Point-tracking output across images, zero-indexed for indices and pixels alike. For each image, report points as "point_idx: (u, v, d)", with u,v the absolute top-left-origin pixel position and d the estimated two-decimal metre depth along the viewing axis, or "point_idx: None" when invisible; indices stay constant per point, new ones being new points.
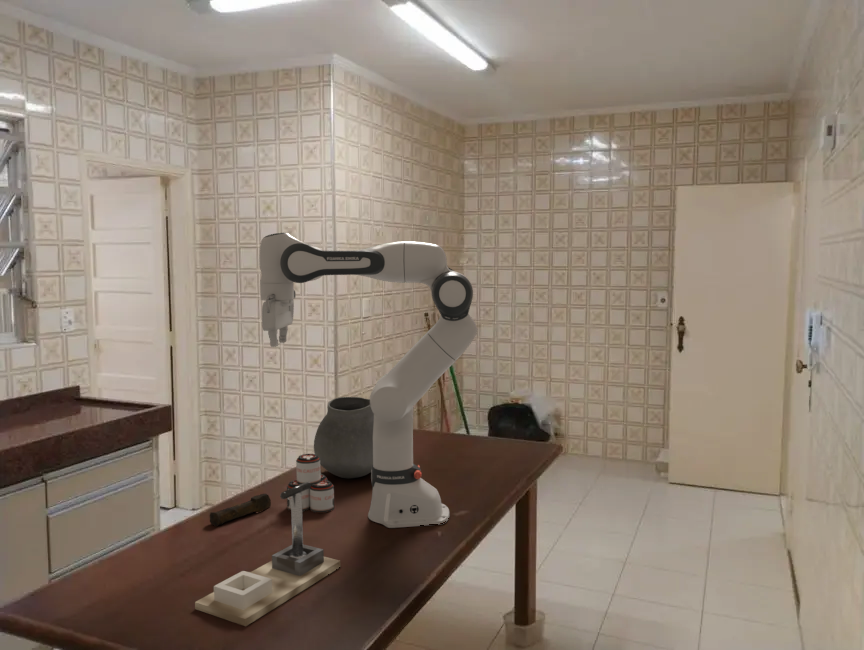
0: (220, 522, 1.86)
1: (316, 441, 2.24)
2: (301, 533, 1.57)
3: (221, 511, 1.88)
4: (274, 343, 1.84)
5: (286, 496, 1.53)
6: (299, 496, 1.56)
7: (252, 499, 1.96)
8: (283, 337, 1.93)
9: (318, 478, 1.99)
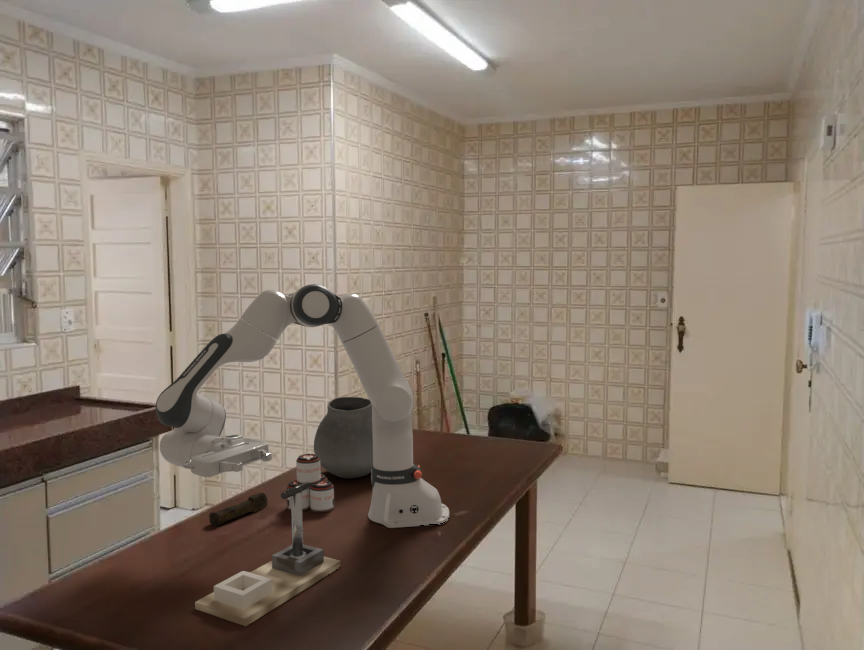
0: (220, 522, 1.87)
1: (316, 441, 2.24)
2: (301, 533, 1.57)
3: (221, 511, 1.88)
4: (235, 466, 1.58)
5: (286, 496, 1.53)
6: (299, 496, 1.56)
7: (250, 498, 1.97)
8: (263, 455, 1.67)
9: (318, 478, 1.99)
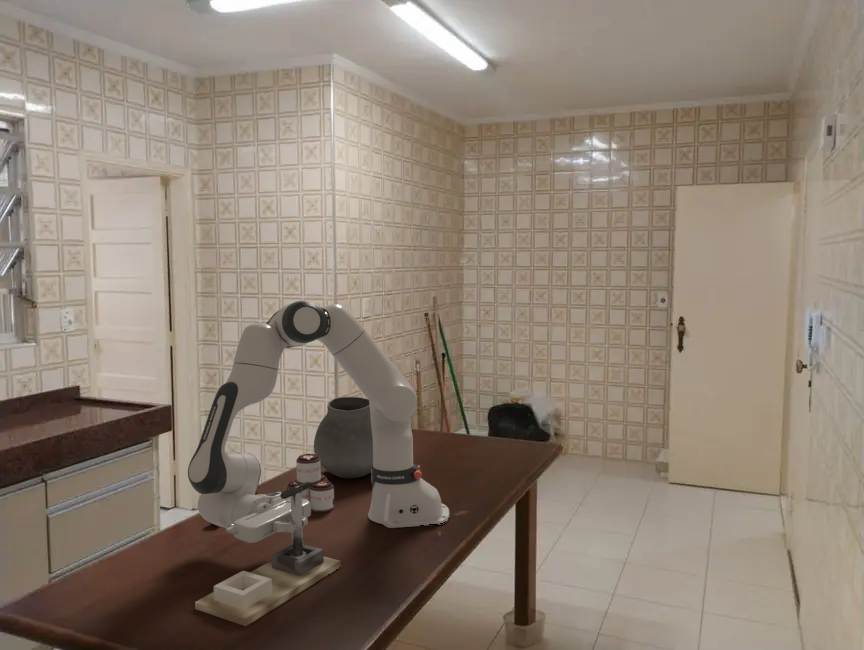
0: None
1: (316, 441, 2.24)
2: (301, 533, 1.57)
3: None
4: (289, 527, 1.55)
5: (286, 496, 1.53)
6: (299, 496, 1.56)
7: None
8: None
9: (318, 478, 1.99)
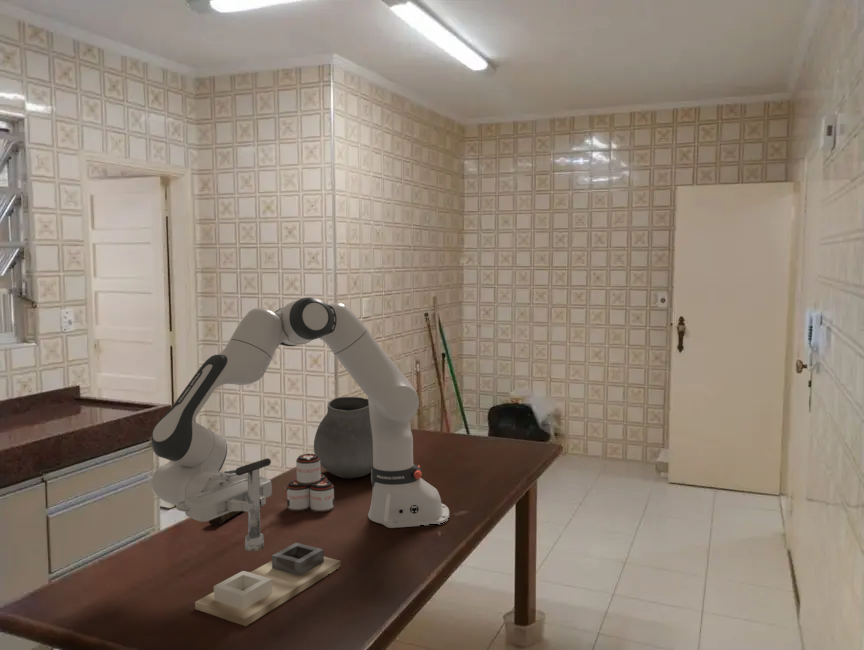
0: (222, 521, 1.87)
1: (316, 441, 2.24)
2: (258, 513, 1.46)
3: None
4: (244, 506, 1.44)
5: (241, 472, 1.42)
6: (256, 473, 1.45)
7: None
8: None
9: (318, 478, 1.99)
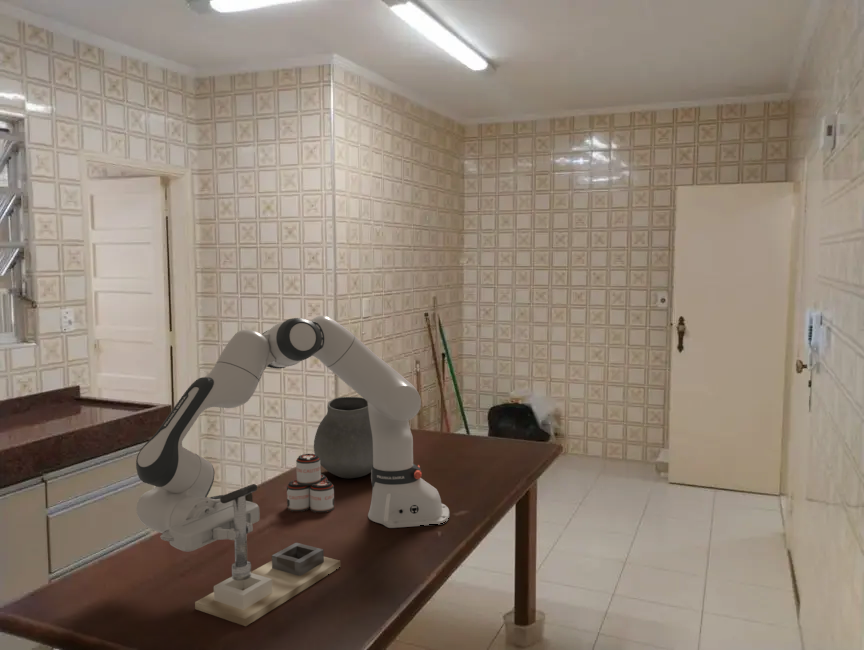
0: None
1: (316, 441, 2.24)
2: (245, 541, 1.42)
3: None
4: (230, 534, 1.40)
5: (226, 500, 1.38)
6: (242, 500, 1.41)
7: None
8: None
9: (318, 478, 1.99)
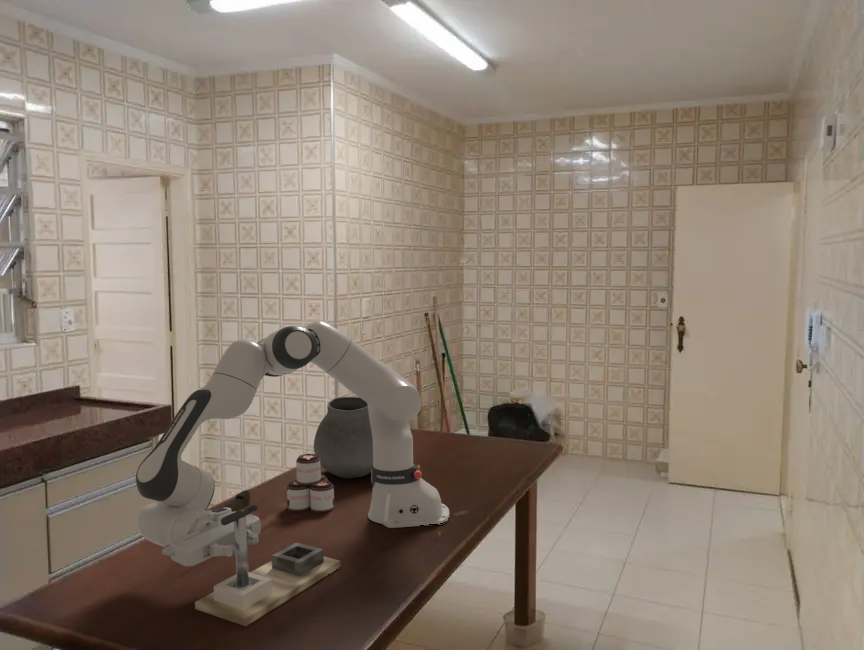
0: None
1: (316, 441, 2.24)
2: (246, 561, 1.42)
3: None
4: (227, 550, 1.39)
5: (227, 522, 1.38)
6: (243, 521, 1.41)
7: (238, 496, 1.98)
8: (248, 538, 1.45)
9: (318, 478, 1.99)
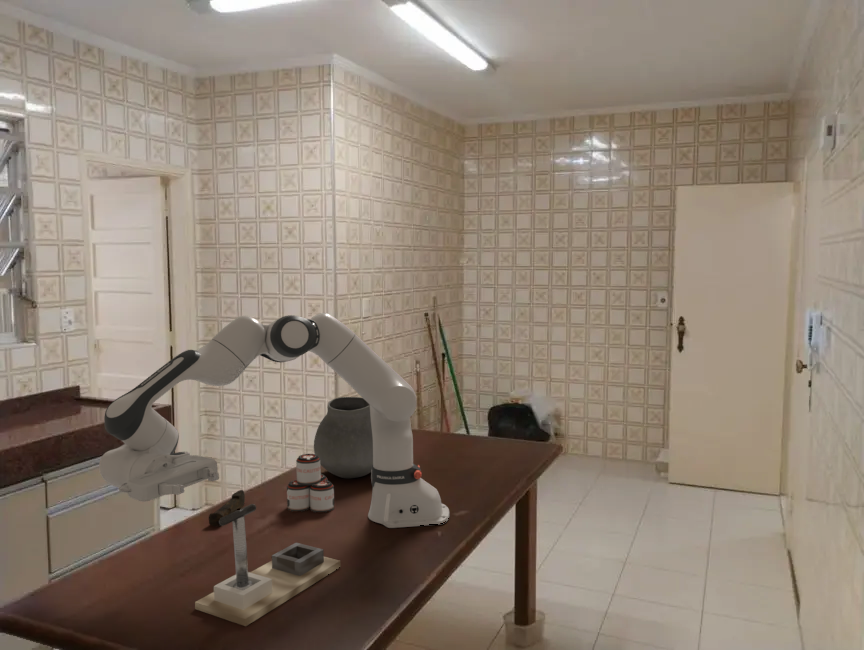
0: None
1: (316, 441, 2.24)
2: (245, 561, 1.42)
3: (219, 511, 1.88)
4: (175, 489, 1.43)
5: (225, 522, 1.38)
6: (241, 521, 1.41)
7: (235, 496, 1.98)
8: (209, 475, 1.52)
9: (318, 478, 1.99)
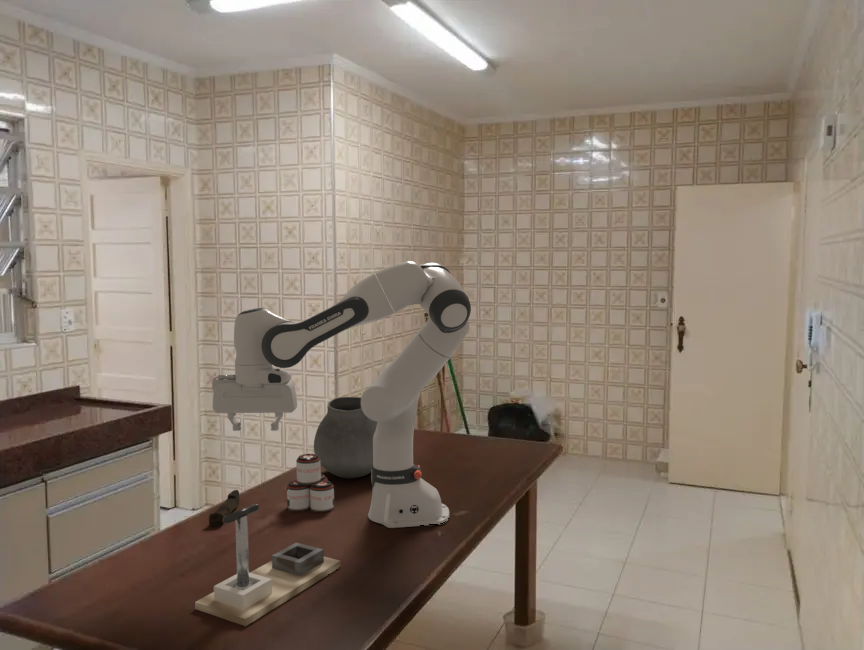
0: None
1: (316, 441, 2.24)
2: (247, 561, 1.43)
3: (219, 511, 1.88)
4: None
5: (229, 520, 1.39)
6: (244, 520, 1.42)
7: (231, 496, 1.98)
8: None
9: (318, 478, 1.99)
